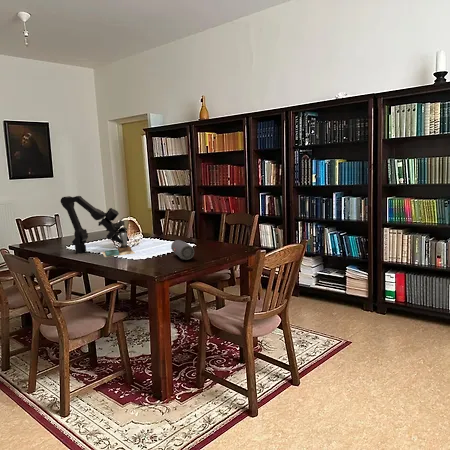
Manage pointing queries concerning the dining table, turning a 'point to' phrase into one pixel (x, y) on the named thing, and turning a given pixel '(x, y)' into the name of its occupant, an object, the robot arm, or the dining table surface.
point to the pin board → (118, 252)
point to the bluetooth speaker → (182, 250)
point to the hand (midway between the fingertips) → (125, 241)
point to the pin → (123, 240)
